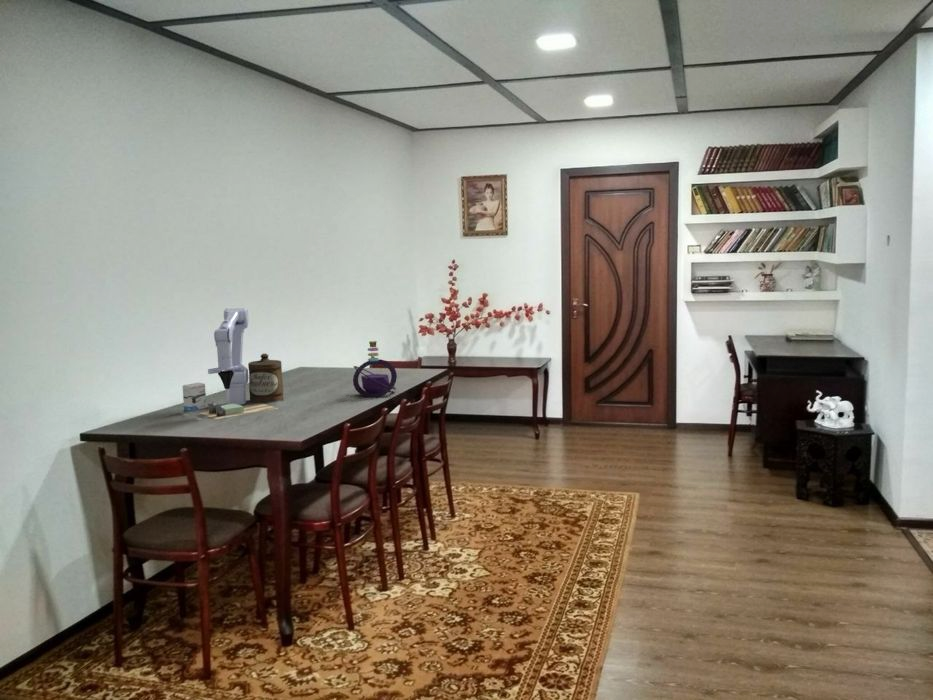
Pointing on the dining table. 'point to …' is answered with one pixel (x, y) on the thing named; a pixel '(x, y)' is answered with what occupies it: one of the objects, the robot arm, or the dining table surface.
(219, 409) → the cylinder
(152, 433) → the dining table surface
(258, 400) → the wooden container
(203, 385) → the ink box
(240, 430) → the dining table surface
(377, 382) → the decorative bottle
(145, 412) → the dining table surface
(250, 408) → the bench board
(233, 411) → the mint green book-shaped slab
